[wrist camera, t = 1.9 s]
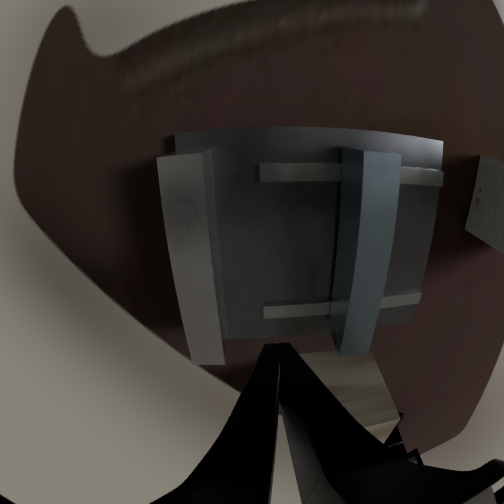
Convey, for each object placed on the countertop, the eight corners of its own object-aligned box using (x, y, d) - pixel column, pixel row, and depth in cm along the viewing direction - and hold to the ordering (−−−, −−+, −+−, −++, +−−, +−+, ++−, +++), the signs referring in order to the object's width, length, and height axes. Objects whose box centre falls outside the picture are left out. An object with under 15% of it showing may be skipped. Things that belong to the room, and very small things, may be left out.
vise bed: (405, 314, 21) (429, 349, 17) (203, 330, 21) (195, 374, 17) (434, 140, 15) (477, 148, 11) (178, 133, 15) (154, 135, 11)
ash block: (358, 375, 24) (383, 443, 16) (286, 384, 24) (296, 460, 16) (367, 345, 22) (400, 418, 15) (288, 354, 22) (301, 438, 15)
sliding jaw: (354, 323, 19) (367, 352, 16) (327, 326, 19) (338, 356, 16) (374, 148, 14) (401, 154, 11) (342, 146, 14) (364, 151, 11)
